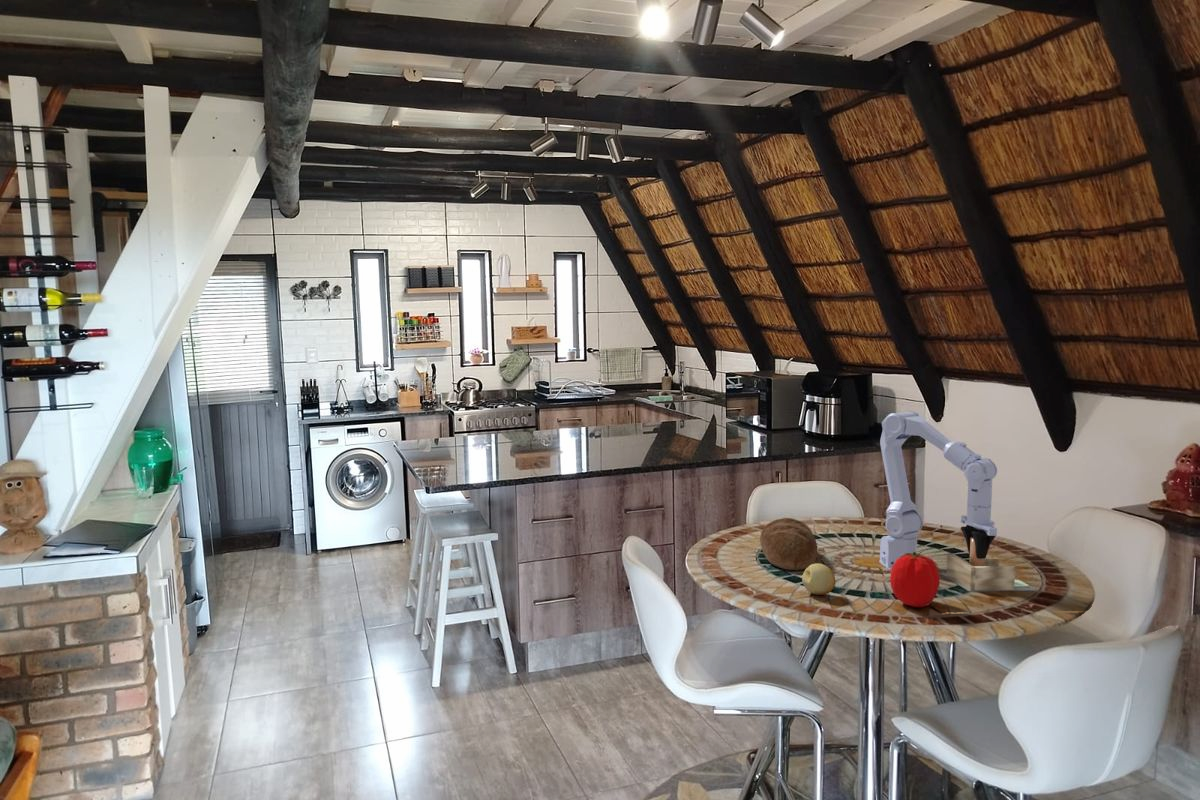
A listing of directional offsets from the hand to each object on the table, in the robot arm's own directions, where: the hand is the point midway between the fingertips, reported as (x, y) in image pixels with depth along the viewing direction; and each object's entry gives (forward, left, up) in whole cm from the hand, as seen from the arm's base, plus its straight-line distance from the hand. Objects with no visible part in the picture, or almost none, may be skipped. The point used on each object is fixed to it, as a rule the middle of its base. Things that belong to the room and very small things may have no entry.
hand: (977, 556), depth 217 cm
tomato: (-23, -14, -8) cm, 28 cm away
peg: (0, 0, -3) cm, 3 cm away
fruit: (-44, -5, -8) cm, 45 cm away
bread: (-42, +29, -8) cm, 52 cm away
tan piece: (+1, +1, -7) cm, 8 cm away
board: (+4, +2, -8) cm, 9 cm away
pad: (+10, -1, -7) cm, 12 cm away
